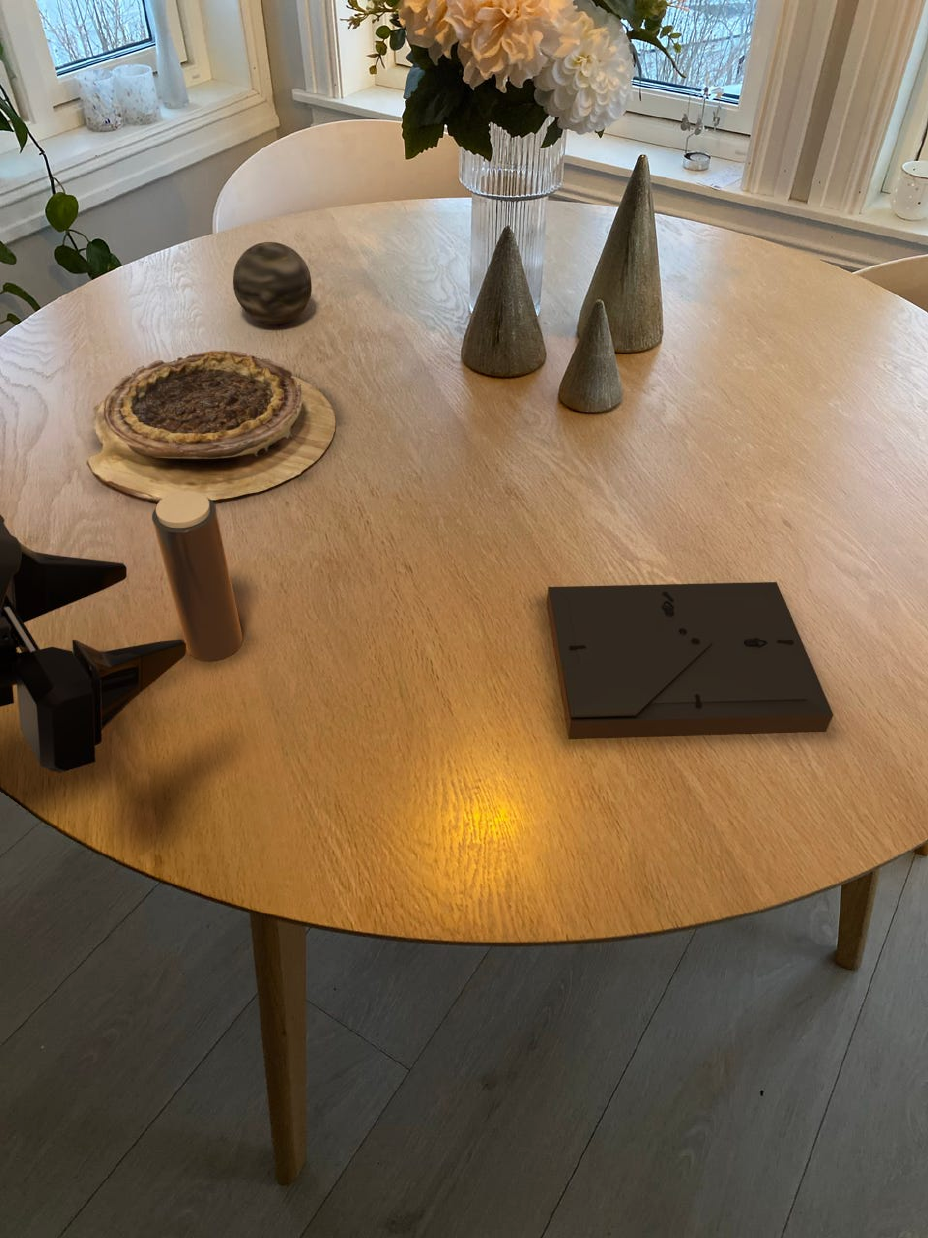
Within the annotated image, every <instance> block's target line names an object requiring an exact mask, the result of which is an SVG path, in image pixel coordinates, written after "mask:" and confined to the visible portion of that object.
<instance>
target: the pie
mask: <svg viewBox="0 0 928 1238" xmlns="http://www.w3.org/2000/svg"><path fill="white" fill-rule="evenodd" d="M286 368H287V367H285V366H284V365H283V364H282V365H280V364H279V363H277V362H275V361H273V360H271V359H270V358H260V357H256V355H253V354H250V355H248V354H247V353H244V352H241V351H233V350H209V351H206V352H204V351H203V352H200V353H199V352H198V353H192V354H188V355H187V356H186V357H184V358H183V357H182V356H179V357H177V358H176V360H173V361H168V362H167V361H166V362H164V360H163V359H160V360H155V361H153V362H151V363H149V364H147V365H146V366H144V365H142V366H140V367H138V368H136V370H135V371H132V372H131V375H130V374H128V375H126V376H124V377H122V378H121V379H120V381H119V382H118V383H117V384H116V385H115V386H114V387H113V389H112V390H111V391H109V393H108V394H107V395H106V397H105V398H104V400H101V401H100V402H99V404H96V405H95V406H94V407H93V408H92V411H93V413H94V421H93V422H92V424H94V425H93V426H92V428H94V429H93V430H96V431H94V432H95V433H96V436H97V437H98V438H97V439H98V441H99V443H100V444H101V445H102V447H101V448H102V449H101V451H99V452H97V453H95V454H93V455H92V456H89V457H87V459H86V466H87V467H88V469H89V470H90V471H91V473H93V475H95V477H96V479H98V480H99V481H100V482H103V483H106V484H108V485H109V486H110V487H113V488H115V489H117V490H119V491H121V492H124V493H126V494H128V495H132V496H135V497H136V498H139V499H144V500H148V501H153V502H157V503H159V502H160V501H161V500H162V499H163V498H164V497H166V496H168V495H170V494H173V493H176V492H181V491H194V492H198V493H201V494H203V495H204V496H205V497H207V498H208V499H210V500H211V501H218V500H224V499H225V500H227V499H233V498H236V497H240V496H243V495H248V494H253V493H254V494H255V493H259V492H262V491H265V490H268V489H270V488H273V487H275V486H278V485H280V484H282V483H284V482H286V481H288V480H290V479H293V478H295V477H296V476H298V475H301V473H302V472H303V471H305V470H306V469H308V468H309V467H310V466H312V465H313V464H314V463H315V462H317V461H318V460H319V459H320V457H321V456H322V455H323V454H324V453H325V451H326V450H327V448H328V447H329V445H330V444H331V442H332V440H333V437H334V434H335V431H336V423H337V422H336V414H335V410H334V408H333V406H332V405H331V404H330V402H329V400H328V399H327V398H326V397H325V396H324V395H323V393H322V392H321V391H319V390H318V388H317V389H316V387H315V386H313V385H311V384H310V383H308V382H306V381H304V380H302V379H300V378H298V377H296V376H294V375H293V373H292V371H291V370H290V369H286Z"/></svg>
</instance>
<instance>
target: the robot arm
mask: <svg viewBox="0 0 928 1238" xmlns="http://www.w3.org/2000/svg"><path fill="white" fill-rule="evenodd" d="M127 571H128V569H127V566H126V564H125V563H123V562H118V561H110V560H109V561H108V560H98V559H92V558H91V559H90V558H82V557H71V556H63V555H56V554H50V553H44V552H39V551H35V550H32V549H30V548H29V547H27V546H25V545H24V544H23V543H22V542H20V541H19V539H18V537H16V536H14V535H12V534H11V532H10V531H9V529H8V528H7V526H6V524H5V518H4V517H3V515H2V514H0V708H1V707H5V706H9V705H13V704H15V697H14V686H16V691H17V693H16V694H17V704H18V717H19V728H20V731H21V733H22V734H23V736H24V738H25V740H26V742H27V744H28V746H29V748H30V749H31V751H32V753H33V755H34V756H35V759H36V761H37V763H38V764H39V766H40V767H41V768H44V769H46V770H49V771H52V772H54V773H57V774H61V773H66V772H68V771H72V770H74V769H78V768H81V767H84V766H86V765H87V766H88V765H91V764H94V763H96V747H97V746H99V745H101V744H102V742H103V731H104V730H105V728H106V727H107V726H108V725H110V723H112V722H113V720H115V718H116V717H118V715H119V714H120V713H121V712H122V711H123V710H124V709H125V708H126V707H127V706H129V704H130V703H131V702H133V700H135V699H136V698H137V697H138V696H140V695H141V693H142V692H144V691H145V690H146V689H147V688H149V687H150V686H151V685H152V684H153V683H154V682H156V681H157V680H158V679H159V678H161V677H162V676H163V675H164V674H165V673H166V672H168V671H169V670H170V669H171V668H173V666H175V665H176V664H177V663H178V662H180V661H181V660H182V659H183V658H184V657H185V656H186V654H187V648H186V643H185V641H184V639H182V638H180V639H171V640H169V639H168V640H161V641H155V642H154V641H153V642H149V643H148V642H147V643H144V644H138V645H131V646H126V647H121V648H116V649H110V650H104V651H100V650H98V649H95V648H94V647H92V646H89V645H87V644H85V643H83V642H81V641H80V640H77V639H72V640H71V641H72V643H71V644H72V645H71V646H72V650H69V649H65V648H59V647H57V646H56V647H55V646H49V647H44V648H41V649H40V648H39V645H38V644H37V643H36V640H35V639H34V638H33V636H32V634H31V633H30V631H29V629H28V627H27V626H26V624H25V623H27V622H29V621H32V620H35V619H38V618H39V617H42V616H44V615H47V614H49V613H51V612H54V611H56V610H58V609H61V608H63V607H66V606H68V605H70V604H73V603H75V602H78V601H80V600H83V599H86V598H87V597H90V596H92V595H94V594H97V593H100V592H102V591H105V590H107V589H109V588H110V587H112V586H115V585H117V584H119V583H121V582H122V581H124V580H126V579H127V576H128V574H127V573H128V572H127ZM18 649H19V650H20V652H19V651H18Z"/></svg>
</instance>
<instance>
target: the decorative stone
mask: <svg viewBox="0 0 928 1238" xmlns="http://www.w3.org/2000/svg"><path fill="white" fill-rule="evenodd" d="M232 274H233V275H232V276H233V277H232V287H233V288H232V289H233V293H234V296H235V298H236V300H237V302H238V304H239V306H241V308H242V309H243V310H244V312H245V313H246V314H247V315H249V316H250V317H251V318H253V319H255V320H257V321H259V322H260V323H264V324H266V325H267V324H268V325H282V324H286V323H289V322H292V321H293V320H295V319H296V318H297V317H299V316H300V315H302V313H303V312H304V310H306V307H307V306H308V304H309V302H310V299H311V296H312V289H313V287H312V286H313V285H312V284H313V283H312V276H311V271H310V269H309V267H308V264H307V263H306V261H305V260H304V259H303V257H302V256H301V255H300V254H299V253H298V252H297V251H296V250H294V249H293V248H292V247H290V246H288V245H286V244H283V243H280V242H277V241H264V242H259V243H256V244H254V245H252V246H250V247H248V248H247V249H246V250H245V251H244V252H242V254H241V255H240V256H239V258H238V260H237V261H236V263H235V265H234V269H233V273H232Z"/></svg>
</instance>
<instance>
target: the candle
mask: <svg viewBox="0 0 928 1238" xmlns="http://www.w3.org/2000/svg"><path fill="white" fill-rule="evenodd" d="M217 512H218V511H217V507H216V505H215V503H214V502H213V500H210V499H208V498H207V497H205V496H204V495H203V494H201V493H198V492H194V491H181V492H176V493H173V494H170V495H168V496H166V497H164V498H163V499H162V500H161V501H160V502H157V504H156V505H155V508H154V509H153V511H152V514H151V520H152V521H151V522H152V525H153V529H154V532H155V535H156V540H157V543H158V547H159V550H160V554H161V558H162V562H163V566H164V569H165V573H166V576H167V580H168V585H169V588H170V591H171V596H172V599H173V603H174V606H175V607H174V608H175V610H176V614H177V618H178V622H179V626H180V629H181V632H182V637H183V640H184V642H185V643H186V652H188V654H189V655H190V656H191V657H192V658H193V659H196V660H198V661H203V662H216V661H222V660H224V659H227V658H229V657H230V656H232V655H234V654H235V653H236V652H237V651H238V650H239V649H240V648H241V646H242V643H243V633H242V628H241V622H240V619H239V613H238V608H237V603H236V599H235V593H234V589H233V584H232V580H231V574H230V570H229V566H228V560H227V555H226V551H225V547H224V541H223V536H222V532H221V527H220V522H219V517H218V513H217Z"/></svg>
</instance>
